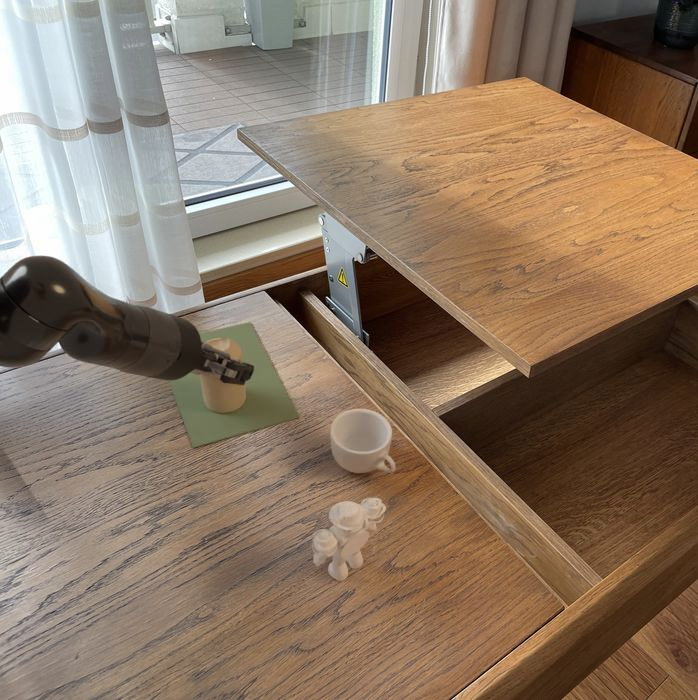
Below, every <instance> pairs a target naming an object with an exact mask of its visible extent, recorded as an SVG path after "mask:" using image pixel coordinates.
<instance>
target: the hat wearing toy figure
mask: <svg viewBox="0 0 698 700" xmlns="http://www.w3.org/2000/svg"><path fill="white" fill-rule="evenodd" d="M386 510H387V506H386V504H385V503H383V501H382V499H381V498H379V497H371V495H370V496H369V497H366V498H363V500H361V502H360V504H359V503H357V502H354V501H348V500H347V501H345V500H344V501H340V502H337V503H336V504H334V505H332V507H331V508H330V510H329V511H328V519H329V521H330V522H331V523H332V524H333V525H332V526H330V528H329V529H326V528H320V529H317V530H316V531H314V532H313V533H312V535H311V537H313V539H311V541H312V543H311V549H312V551H313V560H312V562H313V564H314V565H315V567H316V568H319V567H320V565H322V564H324V563H325V562H326V560H327V558H329V557H330V558H331V557H332V562H330V563H329V564H328V567H327V572H328V574H329V575H330V577H331V578H332V579H334V580H335V581H337V582H343V581H345V580H347V578H348V576H349V569H348V566H347V564H348V565H349V568H351V569H354V570H357V569H359V568H361V567H362V566H363V564H364V557H363V555H362V552H361V549H362V548H363V547H364V546H365V544H366V543H367V542H368V540H369V538H370V535H371V533H372V532H375V531H377V527H378V526H377V524H380V523H382V522H383V520H384V518H385V515H386V514H385V512H386ZM382 515H383V516H382ZM380 517H382V518H380ZM379 518H380V520H377V519H379Z"/></svg>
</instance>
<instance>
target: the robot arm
mask: <svg viewBox="0 0 698 700" xmlns="http://www.w3.org/2000/svg"><path fill="white" fill-rule="evenodd" d="M199 333H200V332H199V330H198V328H197V327H196V326H195V325H194V324H193V323H192V322H190V321H189V320H188V319H186V318H182V317H180V316H177V315H174V314H171V313H167V312H164V311H162V310H159V309H156V308H153V307H149V306H146V305H140V304H134V303H130V302H126V301H125V300H121V299H118V298H115V297H111V296H110V295H108V294H106V293H104V292H103V291H101V290H100V289H98V288H97V287H95V286H94V285H93V284H91V283H89V282H88V281H87V280H86V279H85V278H84V277H83V276H82V275H80V274H79V273H78V272H77V271H76V270H75V269H74V268H72V267H71V266H70V265H69V264H67V263H66V262H64V261H63V260H61V259H59V258H57V257H54V256H50V255H30V256H27V257H24V258H22V259H20V260H18V261H16V262H15V263H14V264H13V265H12V266H11V267H10V268H9V269H8V270H7V271H6V272H5V273H3V275H2V276H1V277H0V367H3V368H13V369H15V368H24V367H29V366H31V365H33V364H36V363H37V362H39V361H40V360H42V359H43V358H44V357H45V356H47V354H48V353H49V352H50V351H52V349H53V348H54V347H55V346H57V345H58V344H59V346H60V348H61V349H62V351H63V352H64V354H65V355H67V356H69V357H70V358H71V359H74V360H76V361H80V362H82V363H86V364H90V365H96V366H100V367H105V368H110V369H114V370H117V371H120V372H122V373H126V374H130V375H135V376H141V377H146V378H151V379H157V380H162V381H167V382H169V381H171V380H177V379H180V378H182V377H184V376H186V375H187V374H189V373H193V374H196V375H200V374H203V375H206V376H210V377H213V378H216V379H219V380H221V381H222V382H223V383H229V384H238V385H244V384H245V381H248V380H250V379H251V376H252V374H253V372H254V366H253V365H251V364H248V363H245V362H241V360H238V359H237V360H235V359H233V358H230V354H228V353H226V352H224V351H222V350H219V349H216V348H214V347H212V346H211V345H209V344H208V343H206V342H203V341H201V338H200V335H199ZM214 353H216V354H218V355H219V357H218V359H217V357H216V355H215V354H214Z"/></svg>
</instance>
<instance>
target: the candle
mask: <svg viewBox="0 0 698 700" xmlns="http://www.w3.org/2000/svg"><path fill="white" fill-rule="evenodd" d="M206 343H208V344H209V345H211V346H212V347H214V348H216V349H219V350H222V351H224V352H226V353H228V354H230V358H233V359H235V360H237V359H238V360H241V362H243V360H242V350H241V347H240V345H239V344H238V343H236V342H234V341H232V340H230V339H228V338H216V339H212V340H209V341H207V342H206ZM214 354H215V355H216V357H217V359H218V357H219V355H218V354H216V353H214ZM200 379H201V385H202V392H203V398H204V403H205V405H206V407H207V408H208V409H210V410H211V411H214V412H218V413H228V412H232V411H235V410H237V409H238V408H240V407H241V406H242V405H243V404H244V402H245V399H246V390H245V384H244V385H238V384H229V383H223V382H222V381H221V380H219V379H216V378H213V377H210V376H206V375H203V374H200Z"/></svg>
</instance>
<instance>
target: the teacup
mask: <svg viewBox="0 0 698 700" xmlns="http://www.w3.org/2000/svg"><path fill="white" fill-rule="evenodd" d="M329 437H330V438H329V439H330V448H331V449H330V450H331V453H332V457H333V459H334V460H335V462H336V463H337V464H338V465H339V466H340V467H341V468H342V469H344V470H346V471H348V472H351V473H353V474H366V473H370V472H373V471H375V470H378V471H381V472H384V473H388V474H392V473H394V472H395V471H396V463H395V461H394V460H393V458H392V457H391V455H389V453H390V448H391V443H392V439H393V429H392V426H391V423H390V422H389V421H388V420H387V418H386V417H385V416H383V415H382V414H380V413H379V412H378V411H377V412H376V411H374V410H371V409H367V408H352V409H349V410H346V411H343V412H341V413H340V414H338V415H336V416H335V418H334V419H333V421H332V422H331V425H330V430H329ZM385 461H386V462H388V463H389V465H390V468H389V467H388V466H386V464H385Z"/></svg>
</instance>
